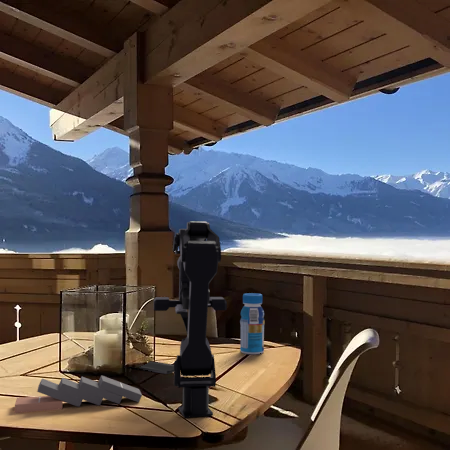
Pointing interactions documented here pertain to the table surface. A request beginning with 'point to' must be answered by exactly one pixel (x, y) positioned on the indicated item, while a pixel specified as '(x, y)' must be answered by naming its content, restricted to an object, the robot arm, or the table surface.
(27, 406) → the domino
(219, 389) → the table surface
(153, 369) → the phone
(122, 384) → the domino
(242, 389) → the table surface
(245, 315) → the beverage bottle
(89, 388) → the domino
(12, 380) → the table surface
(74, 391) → the domino
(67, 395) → the domino
